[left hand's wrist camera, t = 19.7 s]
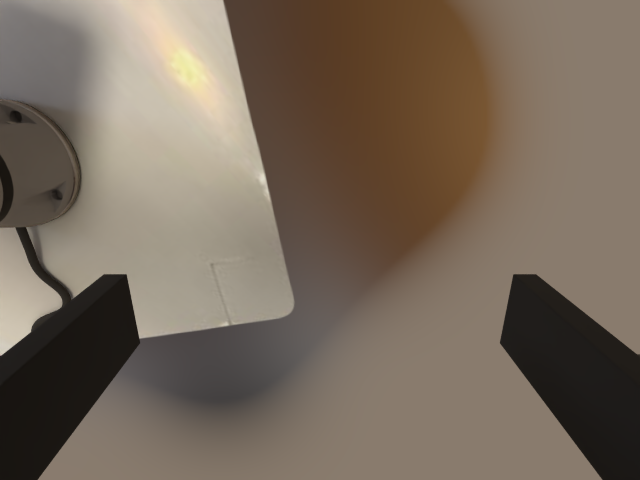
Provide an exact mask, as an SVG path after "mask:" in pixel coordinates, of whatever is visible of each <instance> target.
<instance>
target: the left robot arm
mask: <svg viewBox="0 0 640 480" xmlns="http://www.w3.org/2000/svg"><path fill="white" fill-rule="evenodd" d="M79 187H80V168H79V163H78V159H77V156H76V154H75V151H74V149H73V147H72V145H71V143H70V142H69V140H68V139H67V137H66V136H65V134H64V133H63V132H62V130H61V129H60V128H59V127H58V126H57V125H56V124H55V123H54V122H53V121H52V120H51V119H49V118H48V117H47V116H46V115H44V114H43V113H41V112H40V111H38V110H36V109H35V108H33V107H30V106H28V105H26V104H23V103H20V102H17V101H13V100H6V99H0V228H2V227H15V228H16V230H17V233H18V235H19V237H20V240H21V242H22V245H23V247H24V250H25V252H26V255H27V258H28V261H29V263H30V265H31V267H32V269H33V270H34V272H35V273H36V274H37V275H38V277H39V278H41V279H42V280H43V281H44V282H45V283H46V284H48V285H49V286H50V287H52V288H53V289H54V290H55V291H56V292H58V294H59V295H60V296H61V298H62V302H63V304H62V307H61V308H60V309H59V310H57V311H55V312H53V313H50V314H47V315H45V316H43V317H41V318H39V319H38V320H36V321H35V323H34V324H33V326H32V329H31V333H29V334H28V335H27V336H26V337H24V338H23V339H22V340H21V341H19V342H18V343H17V344H16V345H14V346H13V347H12V348H11V349H9V350H8V351H7V352H5V353H4V354H3V355H2V356H0V480H38V478H39V477H40V476H41V474H42V473H43V472H44V470H45V469H46V468H47V466H48V465H49V464H50V462H51V461H52V460H53V458H54V457H55V456H56V454H57V453H58V452H59V450H60V449H61V448H62V446H63V445H64V444H65V442H66V441H67V440H68V438H69V437H70V436H71V434H72V433H73V432H74V430H75V429H76V428H77V426H78V425H79V424H80V422H81V421H82V420H83V418H84V417H85V416H86V414H87V413H88V412H89V410H90V409H91V408H92V406H93V405H94V404H95V402H96V401H97V400H98V398H99V397H100V396H101V394H102V393H103V392H104V390H105V389H106V388H107V386H108V385H109V384H110V382H111V381H112V380H113V378H114V377H115V376H116V374H117V373H118V372H119V370H120V369H121V368H122V366H123V365H124V364H125V362H126V361H127V360H128V358H129V357H130V356H131V354H132V353H133V352H134V350H135V349H136V348H137V346H138V345H139V344H140V340H139V335H138V330H137V325H136V320H135V315H134V310H133V305H132V300H131V295H130V289H129V284H128V279H127V274H104V275H103V276H101V277H100V278H99V279H98V280H96V281H95V282H94V283H93V284H91V285H90V286H89V287H87V288H86V289H85V290H84V291H82V292H81V293H80V294H79V295H77V296H76V297H75V298H74V299H72V300H71V298H70V295H69V293H68V292H67V290H66V289H65V288H64V287H63V286H62V285H61V284H60V283H58V282H57V281H56V280H54V279H53V278H52V277H51V276H49V275H48V274H47V273H46V272H45V271H44V269H43V268H42V267H41V265H40V263H39V261H38V259H37V256H36V253H35V250H34V247H33V244H32V242H31V239H30V237H29V234H28V232H27V229H26V227H30V226H36V225H40V224H44V223H47V222H49V221H51V220H54V219H56V218H58V217H59V216H61V215H63V214H64V213H65V212H66V211H67V210H68V209H69V208H70V207H71V206H72V204H73V203H74V201H75V199H76V197H77V195H78V192H79ZM500 344H501V345H502V346H503V348H504V349H505V350H506V352H507V353H508V354H509V356H510V357H511V358H512V360H513V361H514V362H515V364H516V365H517V366H518V368H519V369H520V370H521V372H522V373H523V374H524V376H525V377H526V378H527V380H528V381H529V382H530V384H531V385H532V386H533V388H534V389H535V390H536V392H537V393H538V394H539V396H540V397H541V398H542V400H543V401H544V402H545V404H546V405H547V406H548V408H549V409H550V410H551V412H552V413H553V414H554V416H555V417H556V418H557V420H558V421H559V422H560V424H561V425H562V426H563V428H564V429H565V430H566V432H567V433H568V434H569V436H570V437H571V438H572V440H573V441H574V442H575V444H576V445H577V446H578V448H579V449H580V450H581V452H582V453H583V454H584V456H585V457H586V458H587V460H588V461H589V462H590V464H591V465H592V466H593V468H594V469H595V470H596V472H597V473H598V474H599V476H600V477H601V478H602V480H640V354H639V355H637V354H636V353H634V352H633V351H632V350H631V349H629V348H628V347H627V346H626V345H624V344H623V343H622V342H620V341H619V340H618V339H617V338H616V337H614V336H613V335H612V334H610V333H609V332H608V331H607V330H605V329H604V328H603V327H602V326H600V325H599V324H598V323H597V322H595V321H594V320H593V319H592V318H590V317H589V316H588V315H586V314H585V313H584V312H583V311H582V310H580V309H579V308H578V307H576V306H575V305H574V304H573V303H571V302H570V301H569V300H568V299H566V298H565V297H564V296H563V295H561V294H560V293H559V292H558V291H556V290H555V289H554V288H552V287H551V286H550V285H549V284H547V283H546V282H545V281H544V280H542V279H541V278H540V277H539V276H537V275H536V274H514V275H513V279H512V284H511V290H510V295H509V300H508V305H507V310H506V315H505V320H504V325H503V330H502V335H501V340H500Z"/></svg>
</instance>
